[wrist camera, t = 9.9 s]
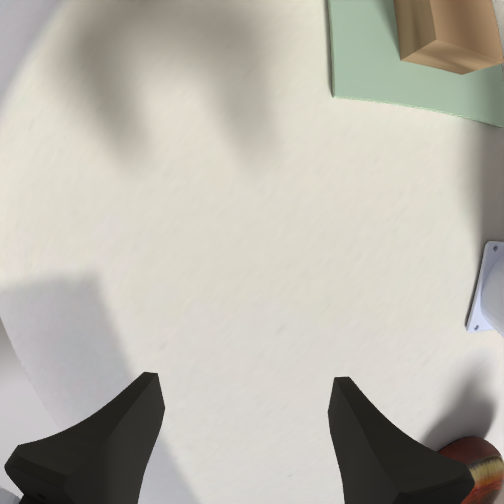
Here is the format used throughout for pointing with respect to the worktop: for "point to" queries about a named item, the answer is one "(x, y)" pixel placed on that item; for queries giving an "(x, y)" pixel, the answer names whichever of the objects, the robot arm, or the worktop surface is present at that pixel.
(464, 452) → the vase
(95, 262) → the worktop surface
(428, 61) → the walnut block
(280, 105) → the worktop surface
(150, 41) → the worktop surface
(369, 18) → the sage board
